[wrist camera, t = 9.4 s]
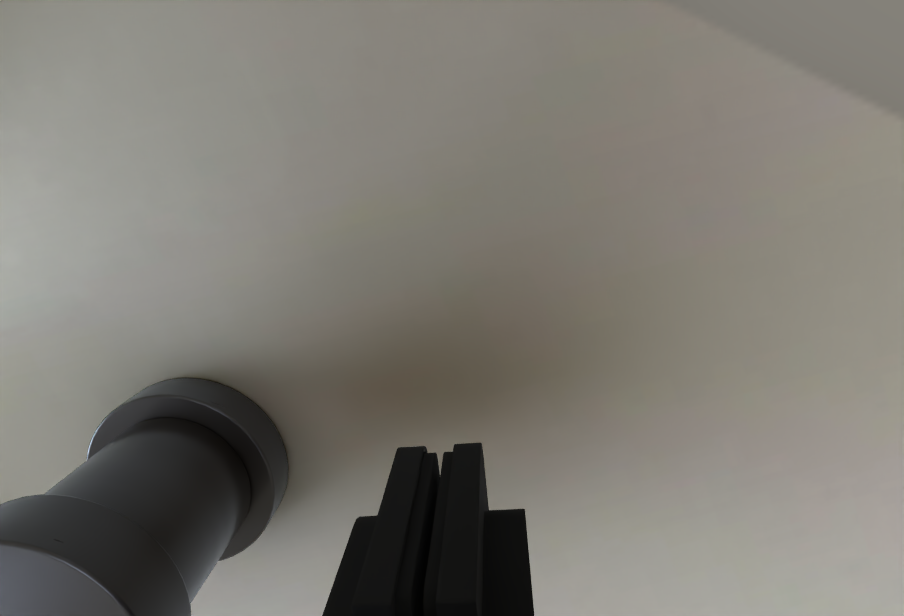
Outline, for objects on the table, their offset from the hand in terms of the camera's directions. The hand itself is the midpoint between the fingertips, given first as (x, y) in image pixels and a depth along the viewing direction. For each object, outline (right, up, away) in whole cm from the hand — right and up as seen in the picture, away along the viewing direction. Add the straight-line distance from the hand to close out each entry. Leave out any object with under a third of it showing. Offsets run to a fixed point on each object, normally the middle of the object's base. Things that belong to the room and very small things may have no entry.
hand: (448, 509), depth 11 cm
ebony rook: (-7, 0, +5) cm, 9 cm away
